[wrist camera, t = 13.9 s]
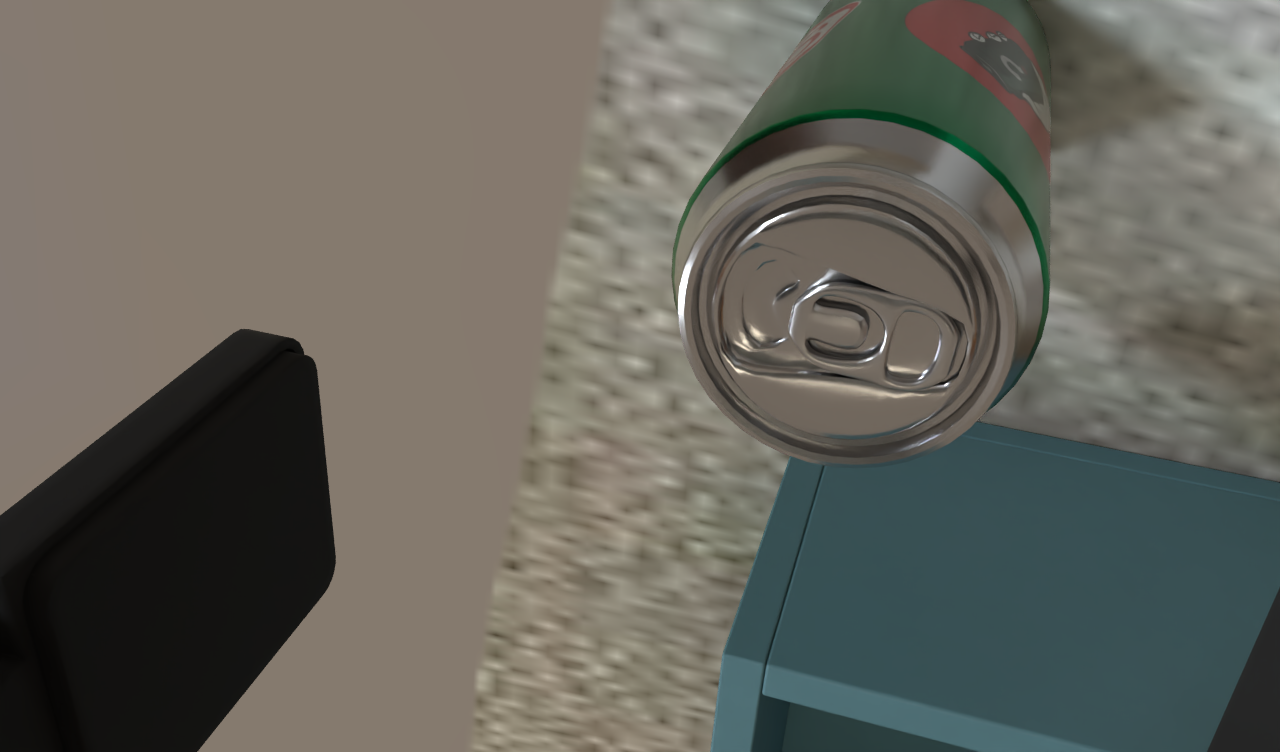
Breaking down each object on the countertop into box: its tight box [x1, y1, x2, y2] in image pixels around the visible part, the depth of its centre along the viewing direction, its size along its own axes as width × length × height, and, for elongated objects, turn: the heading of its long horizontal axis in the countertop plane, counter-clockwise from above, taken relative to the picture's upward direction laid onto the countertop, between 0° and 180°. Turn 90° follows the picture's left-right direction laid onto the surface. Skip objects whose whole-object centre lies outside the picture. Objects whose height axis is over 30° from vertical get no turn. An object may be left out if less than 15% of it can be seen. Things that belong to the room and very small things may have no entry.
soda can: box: [672, 0, 1051, 469], centre depth 20 cm, size 5×5×12 cm
